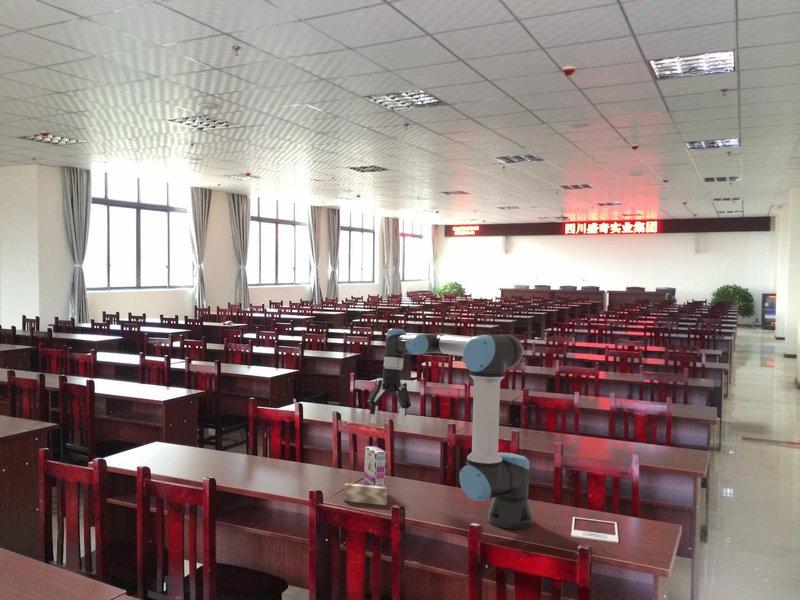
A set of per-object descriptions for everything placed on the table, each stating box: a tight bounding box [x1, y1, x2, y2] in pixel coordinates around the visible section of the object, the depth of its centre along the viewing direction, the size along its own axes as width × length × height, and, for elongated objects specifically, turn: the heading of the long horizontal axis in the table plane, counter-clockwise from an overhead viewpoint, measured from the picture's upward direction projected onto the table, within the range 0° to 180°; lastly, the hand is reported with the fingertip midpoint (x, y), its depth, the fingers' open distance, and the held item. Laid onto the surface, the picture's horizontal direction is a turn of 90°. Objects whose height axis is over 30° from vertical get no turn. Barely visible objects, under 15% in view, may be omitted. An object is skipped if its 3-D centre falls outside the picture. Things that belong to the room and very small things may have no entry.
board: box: [343, 482, 388, 506], centre depth 234 cm, size 16×2×6 cm, turn 78°
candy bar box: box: [363, 445, 387, 487], centre depth 247 cm, size 11×5×16 cm, turn 25°
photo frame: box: [570, 516, 619, 544], centre depth 213 cm, size 15×1×18 cm
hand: (387, 424), depth 243 cm, fingers open, 13 cm apart
